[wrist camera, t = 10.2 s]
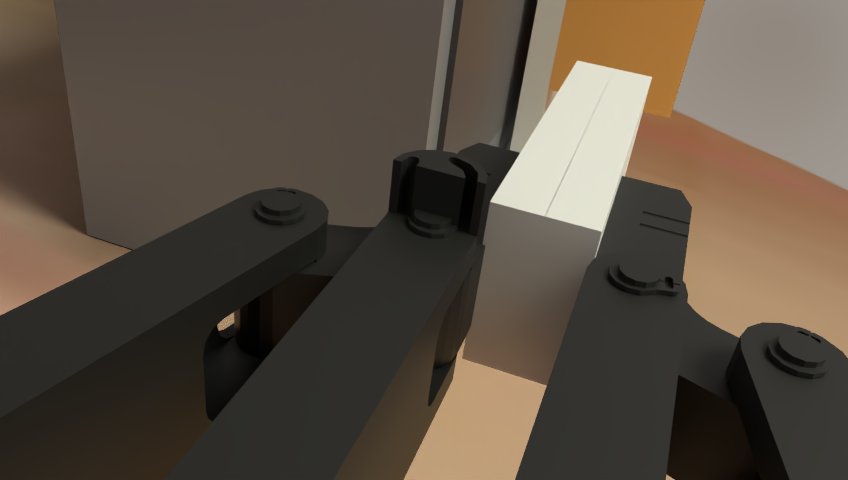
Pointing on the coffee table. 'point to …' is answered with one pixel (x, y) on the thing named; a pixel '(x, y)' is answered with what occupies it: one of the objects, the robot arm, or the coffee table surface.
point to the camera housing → (277, 99)
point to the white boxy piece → (605, 50)
